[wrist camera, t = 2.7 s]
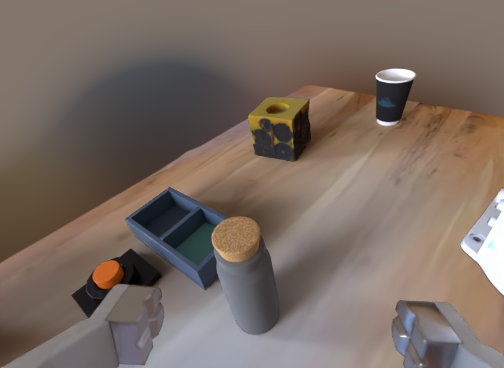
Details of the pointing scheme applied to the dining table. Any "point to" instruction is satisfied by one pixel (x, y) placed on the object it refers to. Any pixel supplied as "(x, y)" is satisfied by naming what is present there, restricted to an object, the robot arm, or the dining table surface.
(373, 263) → the dining table surface
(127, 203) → the dining table surface
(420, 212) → the dining table surface
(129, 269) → the control block
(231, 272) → the bottle
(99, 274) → the button
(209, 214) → the tray
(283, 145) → the candle
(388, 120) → the dixie cup
